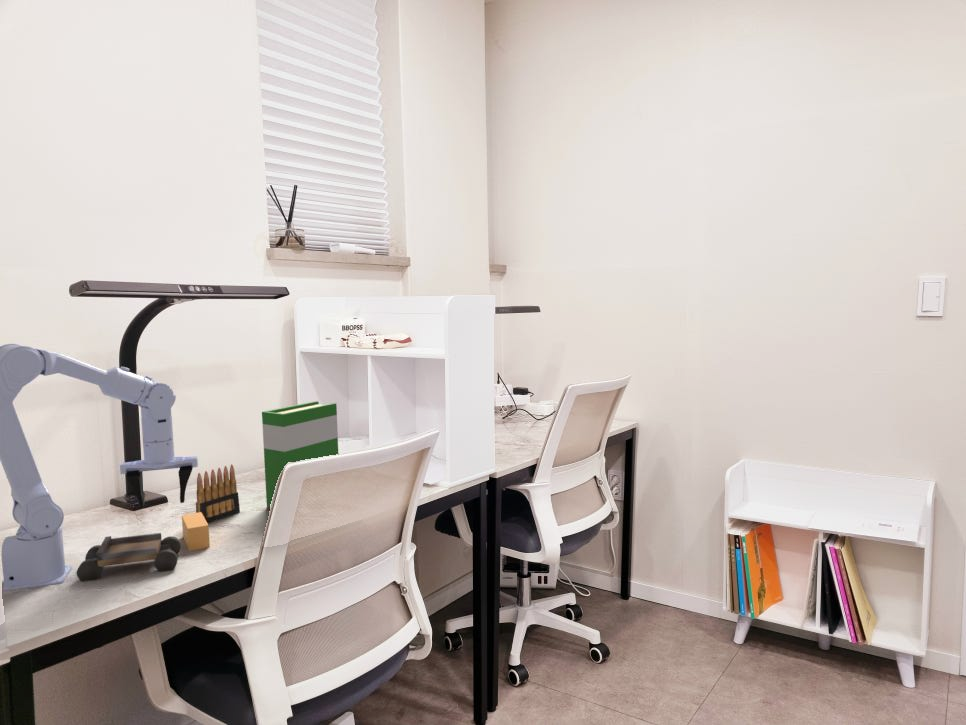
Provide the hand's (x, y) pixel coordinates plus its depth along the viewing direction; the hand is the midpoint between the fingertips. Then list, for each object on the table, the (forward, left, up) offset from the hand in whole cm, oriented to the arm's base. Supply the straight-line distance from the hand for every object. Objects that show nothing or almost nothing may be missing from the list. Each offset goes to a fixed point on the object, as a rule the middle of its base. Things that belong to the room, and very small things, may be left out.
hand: (162, 503), depth 146 cm
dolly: (-5, -10, -9) cm, 15 cm away
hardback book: (+30, +22, -10) cm, 39 cm away
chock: (+6, +1, -10) cm, 11 cm away
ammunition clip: (+10, +16, -10) cm, 21 cm away
